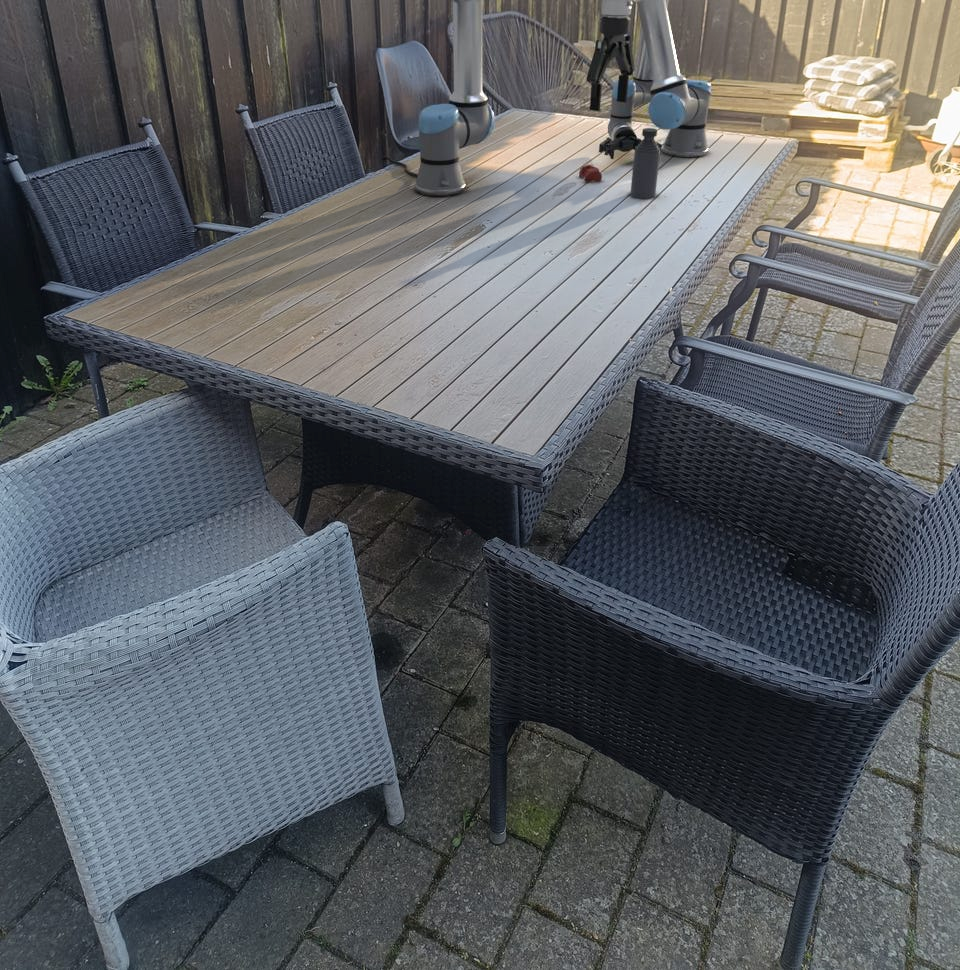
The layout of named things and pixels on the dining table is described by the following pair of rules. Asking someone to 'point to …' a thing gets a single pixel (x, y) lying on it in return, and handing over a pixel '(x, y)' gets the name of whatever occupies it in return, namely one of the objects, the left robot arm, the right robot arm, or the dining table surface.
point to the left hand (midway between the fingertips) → (608, 106)
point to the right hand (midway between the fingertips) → (634, 154)
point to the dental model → (590, 173)
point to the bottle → (645, 169)
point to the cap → (649, 132)
